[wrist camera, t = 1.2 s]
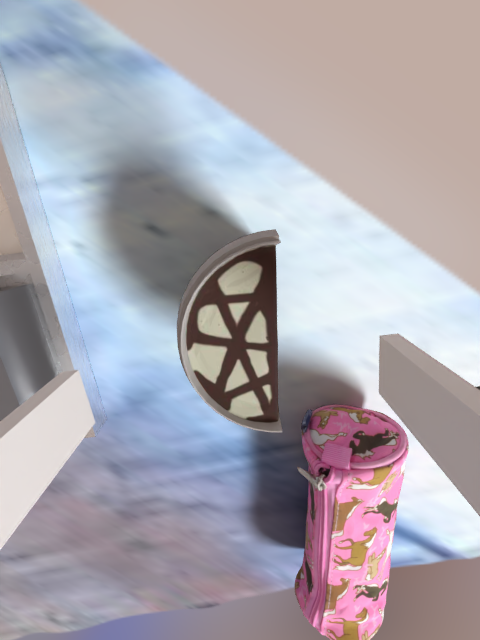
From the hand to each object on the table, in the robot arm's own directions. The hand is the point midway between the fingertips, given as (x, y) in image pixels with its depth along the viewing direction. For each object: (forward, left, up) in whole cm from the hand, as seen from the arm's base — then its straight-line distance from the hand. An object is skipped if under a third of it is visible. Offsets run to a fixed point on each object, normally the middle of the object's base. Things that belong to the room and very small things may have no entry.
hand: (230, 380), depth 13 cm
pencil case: (+8, -21, -14) cm, 26 cm away
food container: (0, 0, -14) cm, 14 cm away
